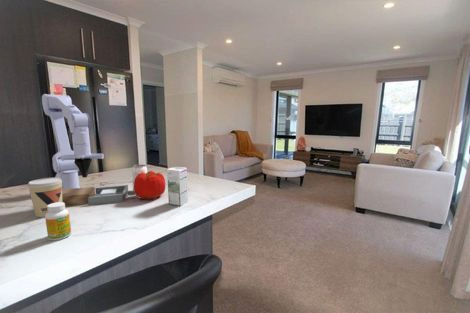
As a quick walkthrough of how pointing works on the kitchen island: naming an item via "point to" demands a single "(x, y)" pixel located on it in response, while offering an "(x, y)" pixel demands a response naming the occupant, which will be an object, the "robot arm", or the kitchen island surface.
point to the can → (138, 171)
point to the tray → (118, 197)
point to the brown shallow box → (77, 195)
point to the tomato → (149, 185)
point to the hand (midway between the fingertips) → (85, 176)
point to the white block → (108, 192)
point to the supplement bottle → (57, 221)
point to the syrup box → (177, 185)
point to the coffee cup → (45, 194)
